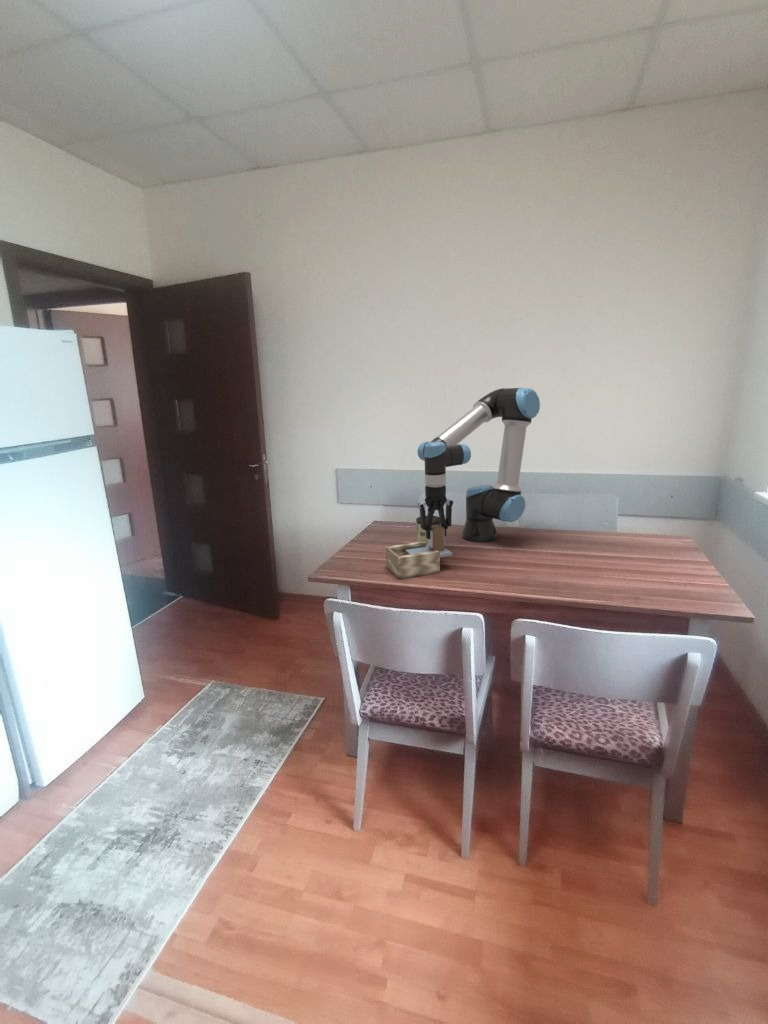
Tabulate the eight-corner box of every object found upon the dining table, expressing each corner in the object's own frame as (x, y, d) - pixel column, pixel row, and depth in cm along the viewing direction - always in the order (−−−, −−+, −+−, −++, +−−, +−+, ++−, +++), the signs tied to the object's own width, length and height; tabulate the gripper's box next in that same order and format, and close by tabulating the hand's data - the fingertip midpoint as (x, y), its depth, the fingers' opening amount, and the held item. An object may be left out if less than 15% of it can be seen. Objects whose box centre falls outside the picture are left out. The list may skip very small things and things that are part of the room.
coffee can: (442, 547, 203) (442, 515, 200) (440, 556, 194) (440, 522, 190) (418, 547, 205) (417, 515, 202) (415, 555, 196) (414, 521, 192)
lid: (438, 546, 189) (438, 521, 186) (452, 555, 178) (452, 529, 175) (404, 551, 184) (403, 526, 182) (416, 561, 174) (415, 534, 171)
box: (424, 560, 189) (424, 541, 187) (439, 572, 176) (439, 551, 174) (386, 566, 184) (385, 546, 182) (399, 579, 172) (398, 558, 170)
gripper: (451, 480, 182) (452, 539, 188) (409, 485, 177) (411, 546, 182) (461, 484, 175) (461, 545, 181) (417, 489, 170) (419, 552, 176)
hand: (436, 545), depth 182 cm, fingers closed on lid, 4 cm apart
